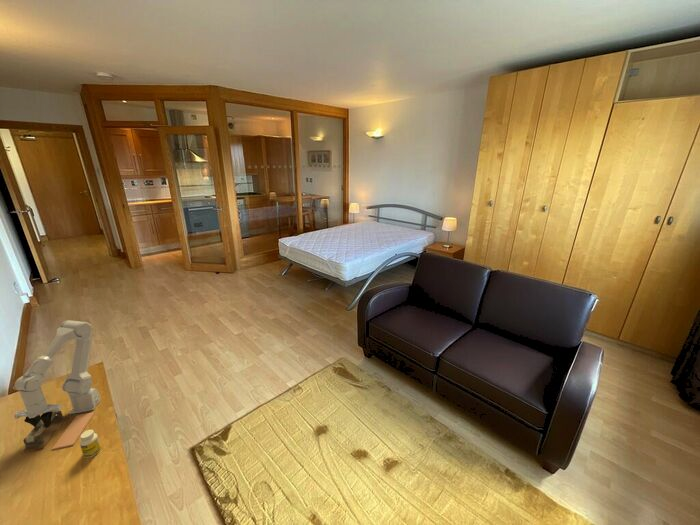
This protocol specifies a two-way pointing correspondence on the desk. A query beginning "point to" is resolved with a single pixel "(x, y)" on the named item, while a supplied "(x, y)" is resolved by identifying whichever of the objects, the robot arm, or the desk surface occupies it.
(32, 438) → the steel rail
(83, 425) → the mat
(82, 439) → the supplement bottle
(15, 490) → the desk surface
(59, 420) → the hook stand
